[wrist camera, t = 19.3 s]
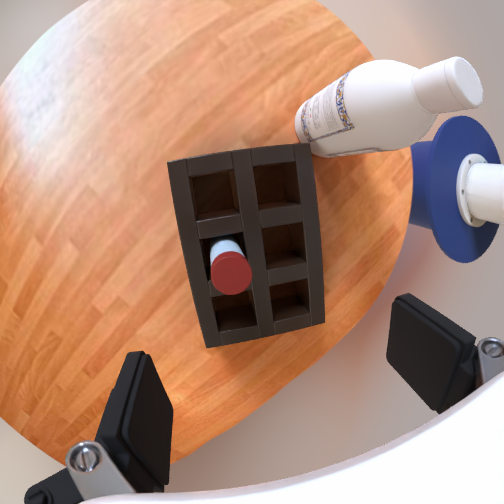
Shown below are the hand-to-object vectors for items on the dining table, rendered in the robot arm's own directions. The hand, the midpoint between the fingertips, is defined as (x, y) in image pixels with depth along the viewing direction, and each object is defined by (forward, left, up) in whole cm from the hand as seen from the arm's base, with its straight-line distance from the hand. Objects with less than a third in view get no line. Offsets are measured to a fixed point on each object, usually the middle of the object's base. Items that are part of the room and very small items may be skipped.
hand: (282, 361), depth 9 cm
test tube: (+1, 0, -20) cm, 20 cm away
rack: (-2, 0, -20) cm, 21 cm away
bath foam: (-12, -11, -21) cm, 26 cm away
